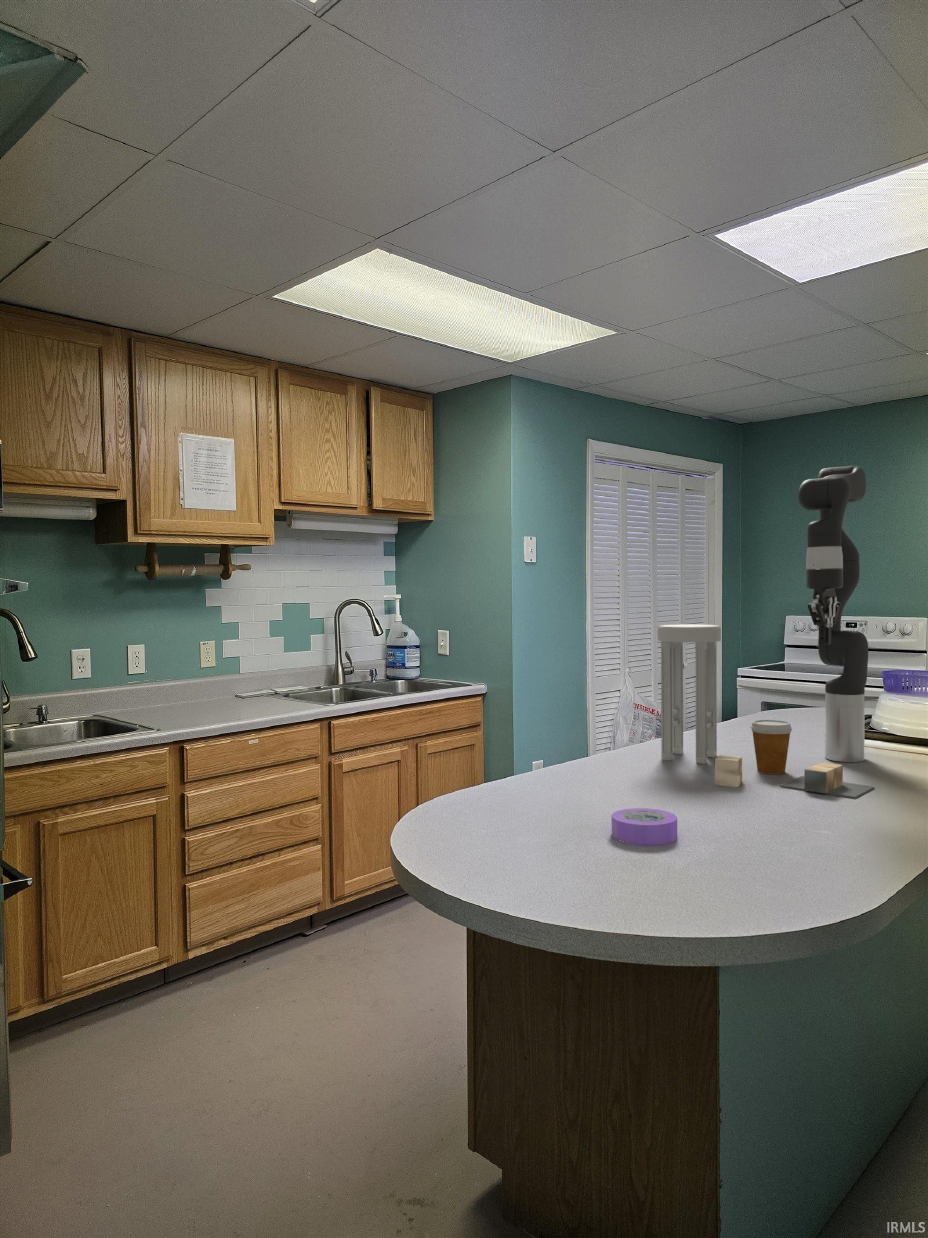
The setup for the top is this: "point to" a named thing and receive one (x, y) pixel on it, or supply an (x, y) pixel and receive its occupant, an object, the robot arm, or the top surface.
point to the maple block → (728, 770)
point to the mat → (843, 790)
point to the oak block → (823, 777)
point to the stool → (673, 688)
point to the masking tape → (644, 826)
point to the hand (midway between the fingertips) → (824, 644)
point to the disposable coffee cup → (771, 745)
